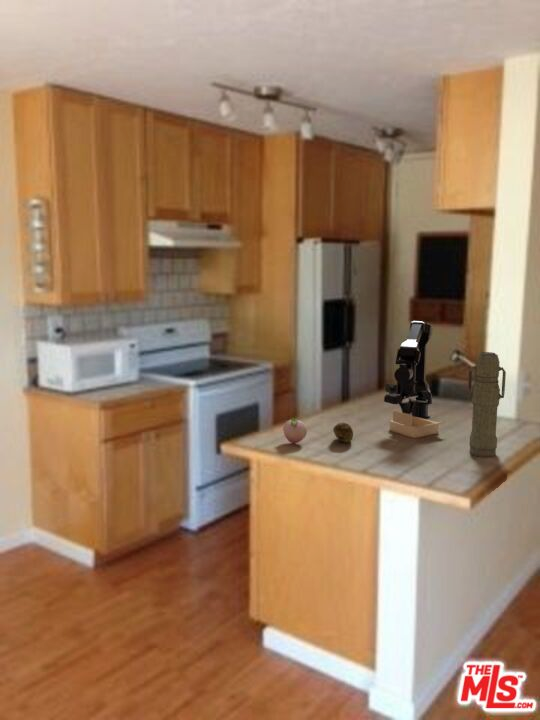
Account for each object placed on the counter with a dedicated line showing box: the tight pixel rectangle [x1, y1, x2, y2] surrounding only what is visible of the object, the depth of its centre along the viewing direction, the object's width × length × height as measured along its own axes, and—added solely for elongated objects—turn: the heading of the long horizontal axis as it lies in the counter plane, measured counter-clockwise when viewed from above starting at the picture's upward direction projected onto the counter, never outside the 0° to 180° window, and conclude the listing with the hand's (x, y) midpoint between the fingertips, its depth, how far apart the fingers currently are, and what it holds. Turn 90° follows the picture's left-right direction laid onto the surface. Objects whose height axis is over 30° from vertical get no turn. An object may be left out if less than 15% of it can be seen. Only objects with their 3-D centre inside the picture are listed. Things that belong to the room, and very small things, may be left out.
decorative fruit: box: [282, 416, 308, 445], centre depth 242 cm, size 9×8×10 cm
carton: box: [389, 417, 440, 439], centre depth 260 cm, size 14×14×4 cm
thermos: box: [467, 351, 507, 458], centre depth 229 cm, size 9×12×35 cm
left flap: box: [418, 421, 445, 427], centre depth 252 cm, size 10×1×4 cm
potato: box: [332, 422, 354, 443], centre depth 244 cm, size 8×13×8 cm, turn 158°
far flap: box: [392, 409, 412, 426], centre depth 255 cm, size 1×10×4 cm, turn 34°
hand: (406, 418), depth 256 cm, fingers closed
